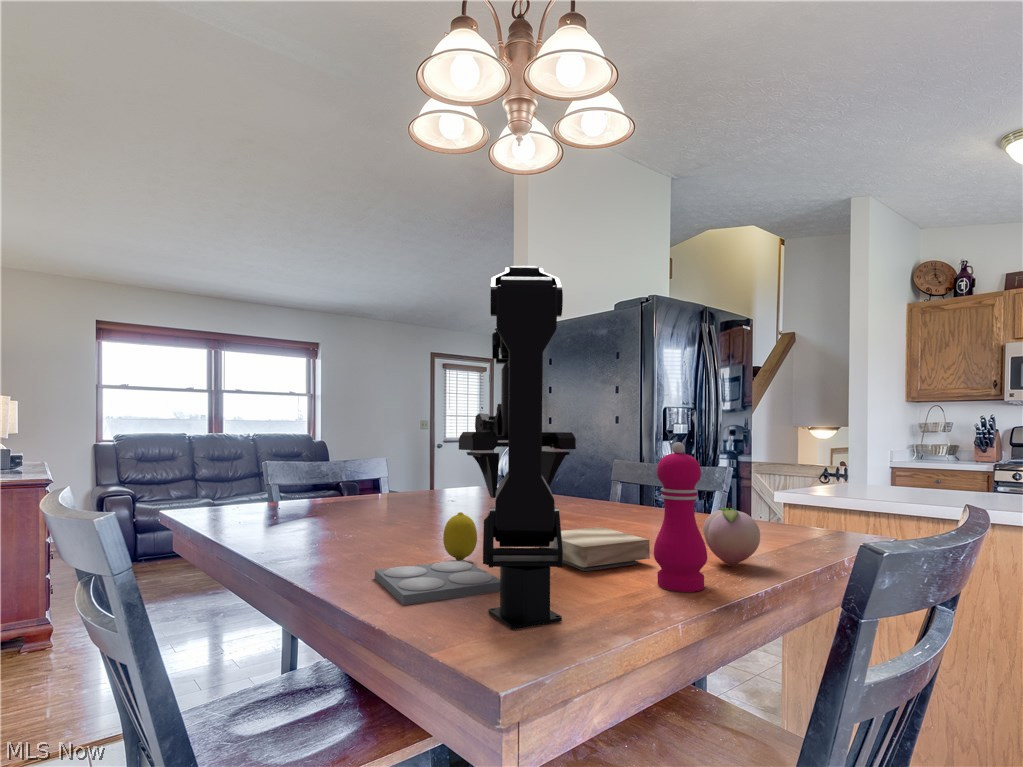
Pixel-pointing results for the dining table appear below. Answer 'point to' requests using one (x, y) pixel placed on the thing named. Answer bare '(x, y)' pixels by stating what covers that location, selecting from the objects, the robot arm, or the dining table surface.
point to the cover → (601, 547)
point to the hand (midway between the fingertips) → (518, 496)
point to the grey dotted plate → (601, 565)
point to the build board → (436, 581)
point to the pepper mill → (679, 524)
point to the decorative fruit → (731, 535)
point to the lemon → (460, 536)
